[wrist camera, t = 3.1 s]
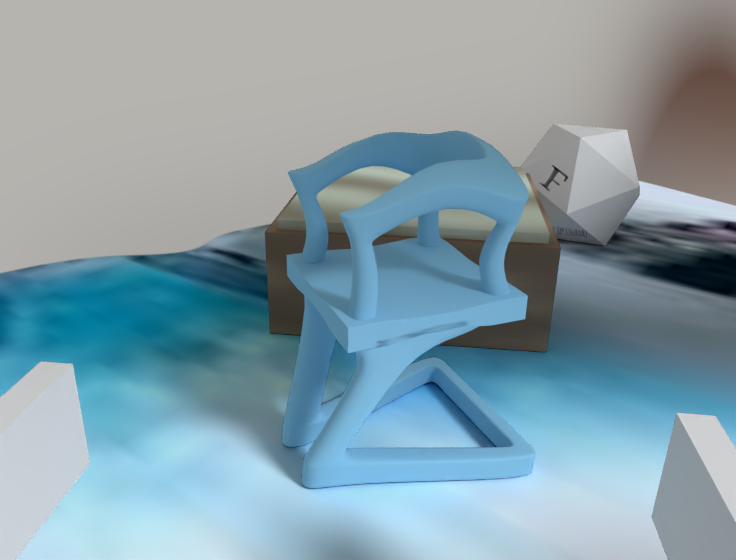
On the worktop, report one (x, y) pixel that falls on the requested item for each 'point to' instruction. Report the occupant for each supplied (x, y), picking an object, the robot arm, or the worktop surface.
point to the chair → (401, 307)
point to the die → (584, 180)
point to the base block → (456, 226)
